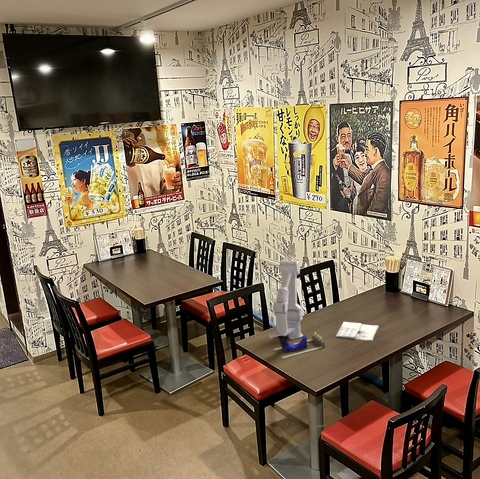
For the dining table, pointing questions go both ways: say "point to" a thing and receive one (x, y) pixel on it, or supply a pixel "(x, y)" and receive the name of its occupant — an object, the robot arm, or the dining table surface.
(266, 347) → the dining table surface
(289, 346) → the cable clip
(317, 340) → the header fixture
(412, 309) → the dining table surface
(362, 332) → the open book
